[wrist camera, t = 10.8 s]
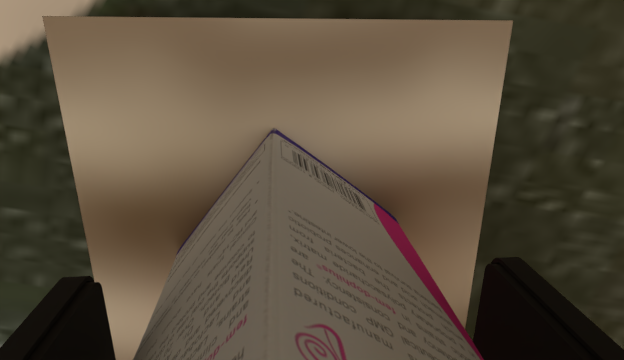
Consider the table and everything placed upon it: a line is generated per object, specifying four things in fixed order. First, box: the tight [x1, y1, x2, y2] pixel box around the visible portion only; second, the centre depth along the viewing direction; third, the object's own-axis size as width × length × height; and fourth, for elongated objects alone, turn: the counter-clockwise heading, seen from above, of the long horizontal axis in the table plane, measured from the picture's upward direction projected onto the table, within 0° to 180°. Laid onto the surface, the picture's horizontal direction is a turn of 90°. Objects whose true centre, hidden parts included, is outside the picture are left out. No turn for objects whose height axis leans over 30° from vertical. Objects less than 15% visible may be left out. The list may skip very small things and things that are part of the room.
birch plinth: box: [42, 16, 513, 360], centre depth 17 cm, size 14×14×4 cm
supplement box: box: [133, 128, 484, 360], centre depth 9 cm, size 6×6×12 cm
